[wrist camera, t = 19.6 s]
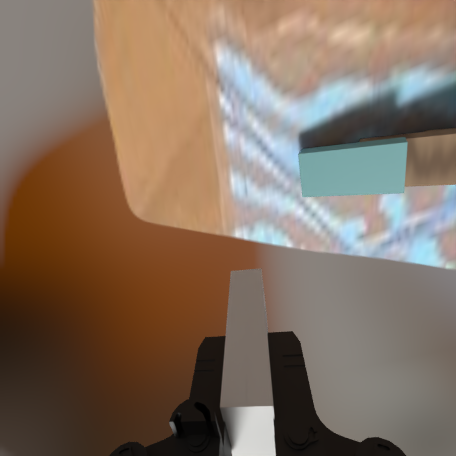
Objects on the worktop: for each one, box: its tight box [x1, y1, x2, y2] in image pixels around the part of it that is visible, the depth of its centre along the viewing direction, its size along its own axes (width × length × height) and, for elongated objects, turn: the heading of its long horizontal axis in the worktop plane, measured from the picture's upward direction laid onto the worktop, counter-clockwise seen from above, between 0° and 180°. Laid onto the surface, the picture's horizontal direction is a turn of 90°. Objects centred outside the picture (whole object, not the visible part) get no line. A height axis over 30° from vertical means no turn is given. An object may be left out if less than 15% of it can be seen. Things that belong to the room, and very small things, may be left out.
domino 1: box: [298, 137, 408, 197], centre depth 30 cm, size 5×2×10 cm
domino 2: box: [360, 128, 456, 186], centre depth 29 cm, size 5×2×10 cm
